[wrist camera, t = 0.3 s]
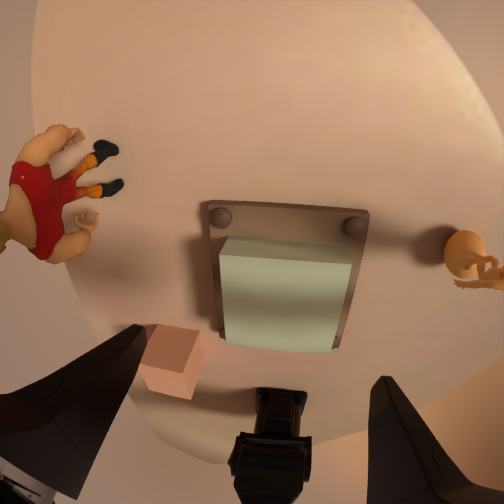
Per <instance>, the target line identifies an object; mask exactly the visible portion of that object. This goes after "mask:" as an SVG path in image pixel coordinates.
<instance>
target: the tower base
mask: <svg viewBox="0 0 504 504" xmlns="http://www.w3.org/2000/svg"><path fill="white" fill-rule="evenodd" d="M208 209H209V224H210V238H211V251H212V264H213V275H214V286H215V297H216V307H217V317H218V326H219V335H220V338H223V339H225V340H226V345H233V346H241V347H250V348H259V349H269V350H280V351H293V352H308V353H327V354H330V352H331V349H334V348H339V345H340V342H341V338H342V335H343V331H344V328H345V325H346V321H347V317H348V314H349V310H350V306H351V302H352V298H353V294H354V290H355V286H356V282H357V278H358V274H359V269H360V265H361V260H362V255H363V250H364V245H365V240H366V235H367V229H368V224H369V218H370V214H369V213H368V211H367V210H359V209H349V208H338V207H326V206H314V205H300V204H285V203H269V202H249V201H225V200H212V201H211V202H210V203H209V204H208Z"/></svg>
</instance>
